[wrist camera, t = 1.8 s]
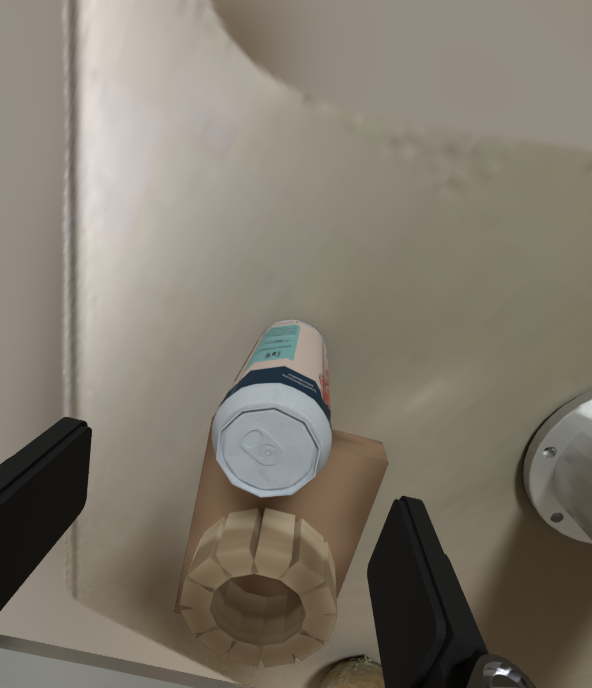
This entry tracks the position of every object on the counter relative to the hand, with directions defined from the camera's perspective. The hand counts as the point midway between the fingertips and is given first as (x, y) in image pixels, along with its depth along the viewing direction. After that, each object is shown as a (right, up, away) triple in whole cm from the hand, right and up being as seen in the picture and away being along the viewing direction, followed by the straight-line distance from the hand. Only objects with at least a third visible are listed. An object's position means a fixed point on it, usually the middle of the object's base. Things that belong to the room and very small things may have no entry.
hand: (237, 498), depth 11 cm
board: (0, -9, +18) cm, 20 cm away
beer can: (+2, +4, +14) cm, 15 cm away
